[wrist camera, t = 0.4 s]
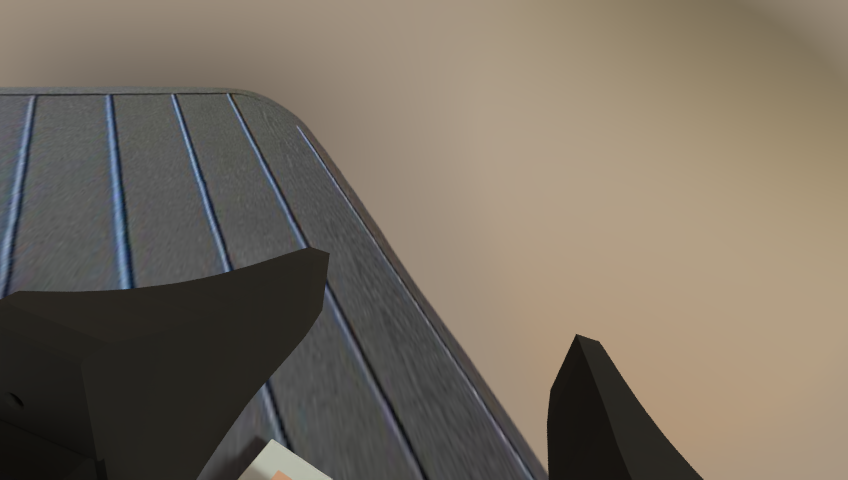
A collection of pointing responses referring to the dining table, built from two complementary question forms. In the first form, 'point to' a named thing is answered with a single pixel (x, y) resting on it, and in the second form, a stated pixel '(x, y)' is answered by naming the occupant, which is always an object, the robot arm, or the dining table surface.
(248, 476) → the collar board
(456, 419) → the dining table surface
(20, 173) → the dining table surface
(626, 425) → the robot arm
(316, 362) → the dining table surface
